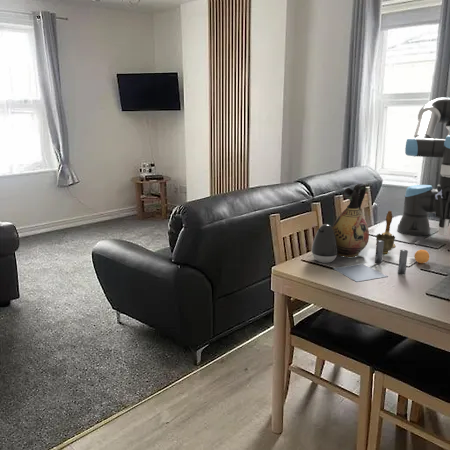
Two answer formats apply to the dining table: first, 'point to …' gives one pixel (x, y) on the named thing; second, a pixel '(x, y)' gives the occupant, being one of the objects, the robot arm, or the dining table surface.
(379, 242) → the gate post
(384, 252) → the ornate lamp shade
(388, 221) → the hand bell
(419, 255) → the ball
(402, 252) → the gate post
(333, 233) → the grey smart speaker
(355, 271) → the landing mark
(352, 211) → the ceramic jug
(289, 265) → the dining table surface
